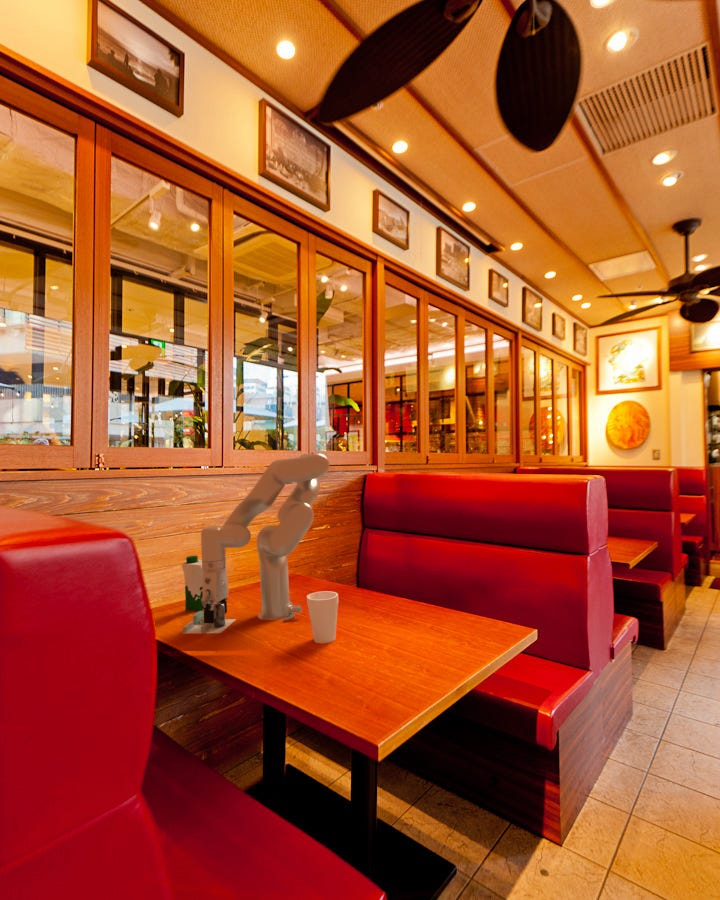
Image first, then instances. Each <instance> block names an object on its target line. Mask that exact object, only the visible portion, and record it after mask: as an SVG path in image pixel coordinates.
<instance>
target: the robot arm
mask: <svg viewBox="0 0 720 900" xmlns="http://www.w3.org/2000/svg"><path fill="white" fill-rule="evenodd" d="M329 470H330V461H329V458H328V457H327V456H326V455H324V454H323V453H320V452H316V453H315V452H314V453H305V454H302V455H300V456H299V457H293V458H286V459H285V458H284V459H276V460H273V461H272V462H271V463H270V464H269V465H268V466H267V468H266V470H265V471H264V472H263V473H262V475H261V477H260V478H259V479H258V481H257V483H256V484H255V485H254V487H253V488H252V489H251V491H250V492H249V493H248V494H247V495H246V497H245V498H243V500H241V502H240V503H239V504H238V505H237V506H236V507H235V508H234V510H233V511H232V512H231V513H230V515H228V516H229V517H228V518H227V520H226V521H225V523H224V524H223V526H217V525H216V526H214V525H213V526H206V527H204V528H202V530H201V531H200V542H201V544H200V545H201V546H200V547H201V560H202V571H203V597H202V599H201V602H202V607H203V616H204V623H214V610H213V606H214V604H216V603H218V602H221V603H224V604H225V615H226V614H227V613H228V603H227V602H228V601H227V600H228V596H229V592H230V591H229V580H228V579H229V578H228V573H227V555H226V554H227V553H226V552H227V551H226V550H227V549H228V548H229V549H231V548H232V549H233V548H234V549H239V548H240V549H241V548H244V547H246V546H247V545H248V544H249V542H251V538H252V535H251V531H250V529H249V528H248V527H249V525H250V524H251V522H252V521H253V520H254V519H255V518H257V516H260V514H262V513H264V512H267V510H269V508H271V507H272V506H273V504H274V502H275V501H276V499H277V498H278V496H279V495H280V493H281V492H282V491H283V490H284V488H285V486H286V485H292V484H296V485H295V487H294V489H293V490H292V491H291V493H290V494H289V495H288V497H287V498H286V500H285V501H283V504H281V506H280V507H279V509H278V511H277V520H278V521H279V523H278V525H274V524H273V525H272V524H268V525H265V526H264V527H262V528H261V529H260V531H259V532H258V533H257V537H256V548H257V553H258V562H259V575H260V578H259V579H260V593H261V594H260V595H261V599H260V600H261V612H260V613H258V615H257V618H258V619H259V620H263V621H275V620H283V622H286V621H289V620H292V619H293V618H294V617H295V615H296V614H297V613H301V614H302V612H303V608H302V606H301V605H294V604H293V602H292V600H291V601H290V587H289V586H290V585H289V584H290V583H289V581H290V580H289V564H288V563H289V562H288V556H289V555H290V554H291V553H292V552H293V551H295V549H296V548H297V547H298V545H299V544H300V542H301V541H302V539H303V538H304V536H305V535H306V534H307V532H308V531H309V529H310V528H311V526H312V524H313V522H314V517H315V515H314V510H313V507H312V506H313V505H314V503H315V501H316V499H317V498H318V495H319V493H320V488H321V481H320V478H321V477H324V476H326V474H327V473H328V471H329ZM209 604H211V605H209Z"/></svg>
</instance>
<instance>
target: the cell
mask: <svg viewBox="0 0 720 900" xmlns="http://www.w3.org/2000/svg"><path fill="white" fill-rule="evenodd" d="M213 610H214V627H215V628H221V627H224V626H225V619H226V614H225V604H224V603H221V602H218V603H216V602H215V603H214V606H213Z"/></svg>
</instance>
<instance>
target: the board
mask: <svg viewBox="0 0 720 900" xmlns="http://www.w3.org/2000/svg"><path fill="white" fill-rule="evenodd" d="M203 616H204V611H197V612H196V613H195V614H193V615H192V619H193V621H191V620H190V622H188V623H186V625H184V626H183V627H182V632H181V633H180V634H184V635H185V634H222V633H223V632H224V631H225V630H226V629H227V628H228V627H229V626H230V625H232V624H233V623H234V622H235V621H236V618H232V619H231V618H228V619H226V618H225V626H224V627H221V628H215V627H214V623H204V622H202V621H201V617H203Z"/></svg>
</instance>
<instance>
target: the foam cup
mask: <svg viewBox="0 0 720 900" xmlns="http://www.w3.org/2000/svg"><path fill="white" fill-rule="evenodd" d="M339 602H340V600H339V594H338V593H337V592H335V591H330V590H329V591H328V590H326V591H325V590H324V591H323V590H321V591H315V592H312V593H309V594H307V595H306V605H307V607H308V613H309V618H310V619H309V620H310V625H311V631H312V635H313V641H314V643H316V644H330V643H332V642H334V641H335V640H336V634H337V620H338V608H339Z"/></svg>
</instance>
